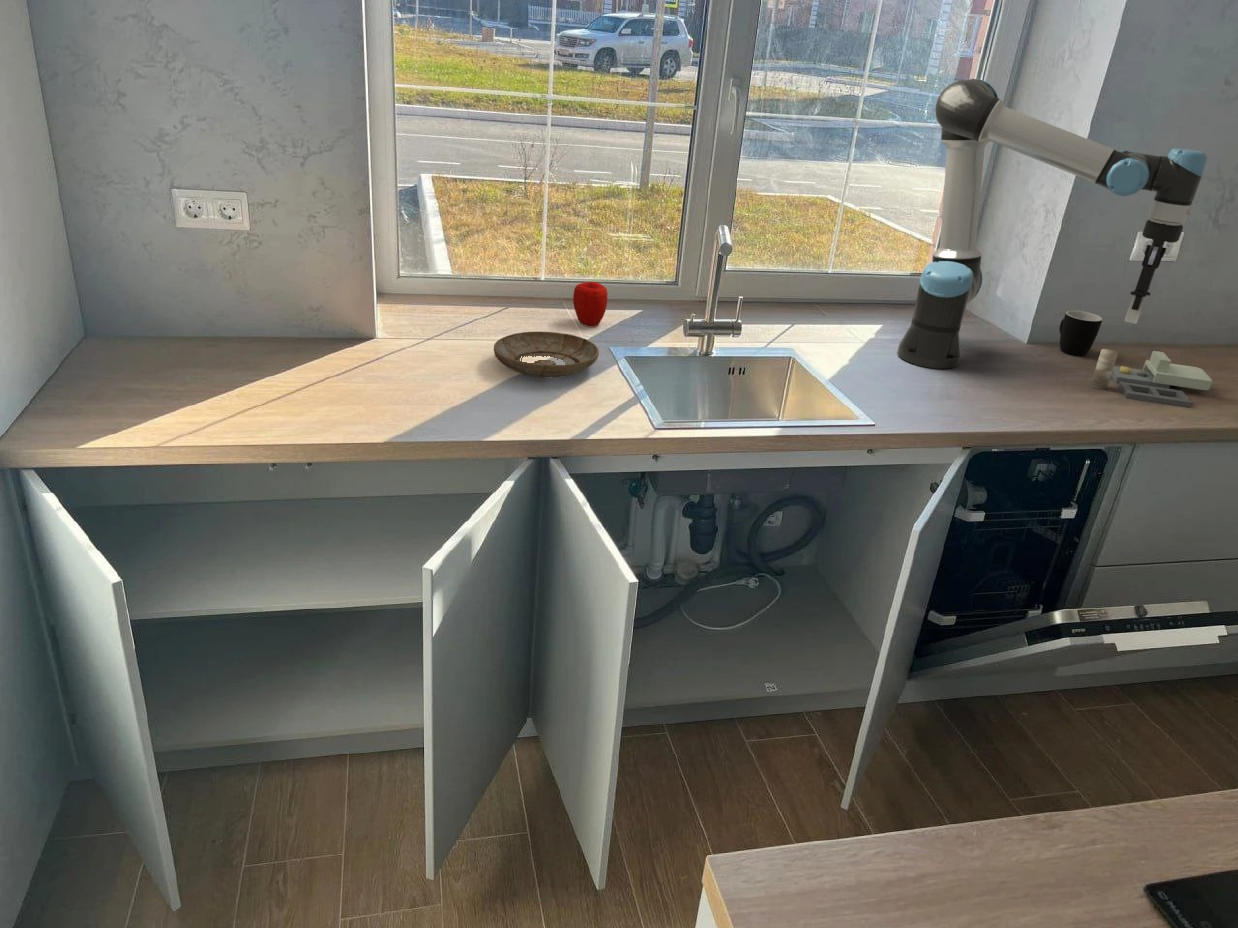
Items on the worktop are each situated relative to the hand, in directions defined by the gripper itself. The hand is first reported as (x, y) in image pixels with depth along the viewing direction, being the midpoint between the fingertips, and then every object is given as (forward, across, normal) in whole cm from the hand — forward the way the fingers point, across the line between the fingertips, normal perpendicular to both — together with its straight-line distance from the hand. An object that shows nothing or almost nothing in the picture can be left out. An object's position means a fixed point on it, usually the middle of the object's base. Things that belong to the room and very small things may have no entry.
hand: (1130, 321), depth 217 cm
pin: (+16, -5, +2) cm, 17 cm away
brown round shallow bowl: (+17, -88, +106) cm, 139 cm away
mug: (+16, +21, +12) cm, 29 cm away
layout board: (+16, +8, -6) cm, 18 cm away
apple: (+17, -55, +117) cm, 130 cm away
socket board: (+16, -2, -10) cm, 19 cm away
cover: (+14, +11, -13) cm, 22 cm away
